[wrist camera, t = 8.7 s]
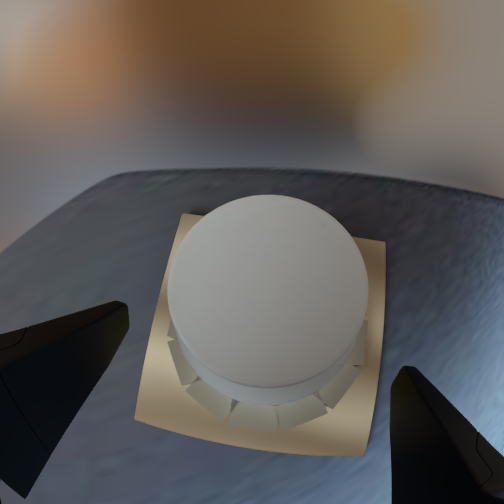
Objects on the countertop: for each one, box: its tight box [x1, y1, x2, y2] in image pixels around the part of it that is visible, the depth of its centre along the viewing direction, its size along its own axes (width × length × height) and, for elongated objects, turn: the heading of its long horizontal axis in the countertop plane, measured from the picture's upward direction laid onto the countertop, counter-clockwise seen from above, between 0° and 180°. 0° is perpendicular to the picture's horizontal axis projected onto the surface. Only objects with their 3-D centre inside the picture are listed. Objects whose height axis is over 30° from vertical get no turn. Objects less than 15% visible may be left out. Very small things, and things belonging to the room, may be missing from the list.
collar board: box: [134, 213, 386, 456], centre depth 17 cm, size 14×14×2 cm
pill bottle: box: [167, 195, 369, 405], centre depth 12 cm, size 6×6×11 cm
